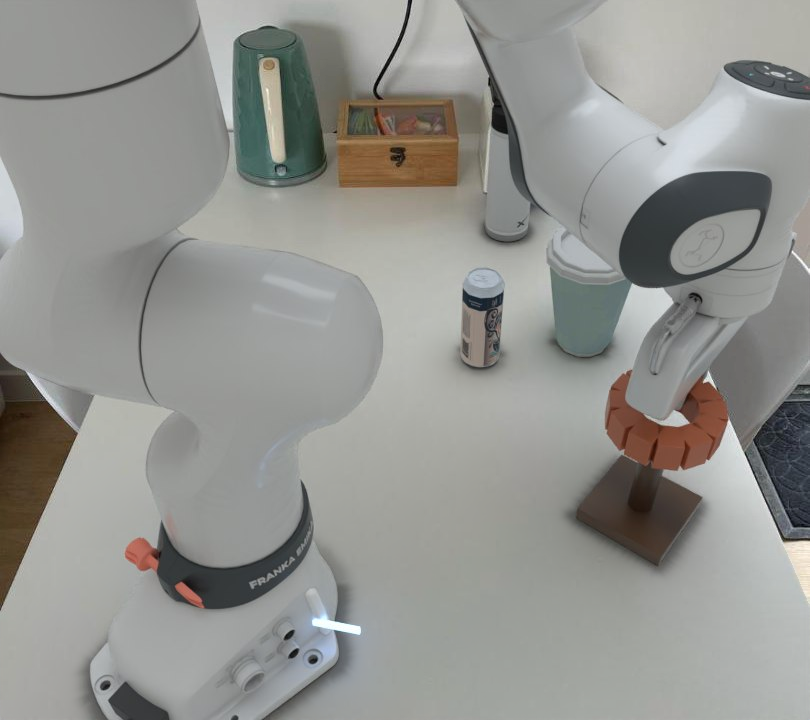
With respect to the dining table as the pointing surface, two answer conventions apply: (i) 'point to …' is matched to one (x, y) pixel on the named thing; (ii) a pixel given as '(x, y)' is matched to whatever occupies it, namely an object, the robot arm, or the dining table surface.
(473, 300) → the beer can
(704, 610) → the dining table surface
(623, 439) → the ring
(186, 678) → the robot arm
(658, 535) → the stand
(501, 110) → the white water bottle
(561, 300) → the disposable coffee cup
